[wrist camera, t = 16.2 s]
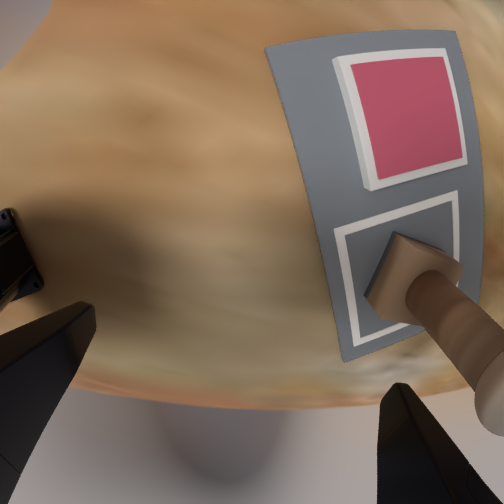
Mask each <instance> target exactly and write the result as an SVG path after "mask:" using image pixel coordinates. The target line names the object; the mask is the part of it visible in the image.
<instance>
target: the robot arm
mask: <svg viewBox="0 0 504 504" xmlns="http://www.w3.org/2000/svg"><path fill="white" fill-rule="evenodd" d="M4 214H5V215H6V218H5V216H4ZM36 282H37V283H38V284H39V285H37V283H36ZM43 286H44V282H43V280H42V278H41V276H40V274H39V272H38V270H37V268H36V266H35V264H34V262H33V260H32V258H31V256H30V254H29V252H28V250H27V248H26V246H25V244H24V242H23V239H22V237H21V235H20V233H19V231H18V228H17V226H16V224H15V221H14V219H13V216H12V214H11V212H10V210H9V209H7V208H5V209H3V210H1V211H0V312H1V311H2V310H3V309H4V308H5V307H6V306H7V304H8V303H9V302H11V301H14V300H16V299H19V298H22V297H24V296H27V295H29V294H32V293H35V292H37V291H40V290H41V289H42V288H43ZM95 332H96V317H95V309H94V306H93V305H92V304H89V303H87V302H84V301H79V302H77V303H74V304H72V305H70V306H67V307H65V308H63V309H60V310H58V311H56V312H53V313H51V314H48V315H46V316H44V317H41V318H39V319H37V320H34V321H32V322H30V323H27V324H25V325H23V326H21V327H18V328H16V329H14V330H11V331H9V332H7V333H4V334H2V335H0V504H8V502H9V500H10V498H11V495H12V493H13V491H14V489H15V487H16V484H17V482H18V480H19V478H20V476H21V473H22V471H23V469H24V467H25V465H26V463H27V461H28V459H29V457H30V455H31V453H32V451H33V449H34V447H35V445H36V443H37V441H38V440H39V438H40V436H41V434H42V432H43V430H44V428H45V427H46V425H47V423H48V421H49V419H50V417H51V415H52V414H53V412H54V410H55V408H56V407H57V405H58V403H59V401H60V400H61V398H62V396H63V394H64V393H65V391H66V389H67V388H68V386H69V384H70V382H71V381H72V379H73V377H74V376H75V374H76V372H77V370H78V368H79V366H80V364H81V362H82V359H83V357H84V355H85V353H86V351H87V349H88V347H89V344H90V342H91V340H92V338H93V336H94V334H95ZM377 504H503V503H502V502H501V501H500V500H499V499H498V497H496V495H495V494H494V493H493V492H492V491H491V490H490V488H489V487H488V486H487V485H486V484H485V482H484V481H483V480H482V479H481V477H480V476H479V475H478V474H477V472H476V471H475V470H474V468H473V467H472V466H471V464H469V462H468V460H467V459H466V458H465V456H464V455H463V454H462V452H461V451H460V450H459V449H458V447H457V446H456V444H455V443H454V442H453V441H452V439H451V438H450V437H449V436H448V434H447V433H446V432H445V430H444V429H443V428H442V426H441V425H440V424H439V422H438V421H437V420H436V419H435V418H434V416H433V415H432V414H431V412H430V411H429V410H428V409H427V407H426V406H425V405H424V403H423V402H422V401H421V400H420V398H419V397H418V396H417V395H416V393H415V392H414V391H413V390H412V388H411V387H410V386H409V385H408V384H405V383H398V382H397V383H395V384H393V385H392V387H391V388H390V389H389V391H388V392H387V393H386V394H385V396H384V397H383V398H382V400H381V403H380V415H379V430H378V443H377Z"/></svg>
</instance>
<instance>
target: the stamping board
mask: <svg viewBox="0 0 504 504" xmlns="http://www.w3.org/2000/svg"><path fill="white" fill-rule="evenodd" d="M264 51H265V54H266V57H267V60H268V63H269V66H270V69H271V72H272V75H273V78H274V81H275V84H276V87H277V90H278V94H279V97H280V100H281V103H282V107H283V110H284V113H285V117H286V120H287V123H288V127H289V130H290V134H291V137H292V140H293V144H294V148H295V151H296V155H297V158H298V162H299V166H300V169H301V173H302V177H303V181H304V185H305V188H306V192H307V196H308V200H309V204H310V208H311V212H312V216H313V220H314V225H315V229H316V233H317V237H318V242H319V246H320V250H321V255H322V259H323V264H324V269H325V273H326V278H327V283H328V288H329V292H330V297H331V302H332V308H333V313H334V318H335V323H336V329H337V334H338V340H339V345H340V351H341V357H342V360H343V362H344V363H345V362H348V361H351V360H353V359H356V358H359V357H361V356H364V355H367V354H369V353H372V352H375V351H377V350H380V349H382V348H385V347H387V346H390V345H392V344H394V343H397V342H399V341H402V340H404V339H406V338H409V337H411V336H413V335H415V334H418V333H420V332H422V331H424V330H426V329H425V328H424V327H422V326H416V325H411V324H405V323H400V322H394V321H389V320H384V319H380V318H379V316H378V315H377V313H376V312H375V311H374V309H373V308H372V306H371V305H370V304H369V302H368V301H367V300H366V298H365V297H364V293H365V291H366V289H367V287H368V285H369V283H370V281H371V279H372V276H373V274H374V272H375V270H376V268H377V266H378V264H379V261H380V259H381V257H382V255H383V253H384V250H385V248H386V246H387V243H388V241H389V239H390V237H391V234H392V232H393V231H395V232H398V233H400V234H403V235H405V236H408V237H411V238H413V239H416V240H419V241H421V242H424V243H426V244H429V245H431V246H434V247H436V248H439V249H441V250H443V251H444V252H446V253H447V254H448V255H450V256H451V257H453V258H454V259H455V260H457V261H458V262H459V263H461V264H462V265H463V266H465V268H464V270H463V272H462V274H461V276H460V278H459V280H458V282H457V284H456V286H457V287H458V288H459V289H460V290H461V291H462V292H464V293H465V294H466V295H467V296H468V297H469V298H470V299H471V300H473V301H474V302H475V303H476V304H479V297H480V288H481V278H482V265H483V248H484V189H483V172H482V160H481V150H480V142H479V134H478V127H477V120H476V114H475V108H474V103H473V98H472V93H471V88H470V83H469V79H468V75H467V71H466V67H465V63H464V59H463V55H462V52H461V48H460V45H459V42H458V38H457V35H456V32H455V31H448V30H387V31H371V32H359V33H349V34H340V35H332V36H325V37H318V38H312V39H306V40H300V41H294V42H289V43H284V44H279V45H275V46H270V47H266V48H265V49H264Z"/></svg>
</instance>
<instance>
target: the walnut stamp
mask: <svg viewBox="0 0 504 504" xmlns="http://www.w3.org/2000/svg"><path fill="white" fill-rule="evenodd" d="M464 268H465V266H463V265H462V264H461V263H459V262H458V261H457V260H455V259H454V258H453V257H451V256H450V255H448V254H447V253H446V252H444V251H443V250H441V249H439V248H436V247H434V246H431V245H429V244H426V243H424V242H421V241H419V240H416V239H413V238H411V237H408V236H405V235H403V234H400V233H398V232H395V231H393V232H392V234H391V237H390V239H389V241H388V243H387V246H386V248H385V250H384V253H383V255H382V257H381V259H380V261H379V264H378V266H377V268H376V270H375V272H374V274H373V276H372V279H371V281H370V283H369V285H368V287H367V289H366V291H365V293H364V297H365V298H366V300H367V301H368V302H369V304H370V305H371V306H372V308H373V309H374V311H375V312H376V313H377V315H378V316H379V318H380V319H384V320H389V321H394V322H400V323H405V324H411V325H416V326H422V327H424V328H425V329H426V331H427V332H428V333H429V334H430V336H431V337H432V338H433V339H434V340H435V342H436V343H437V344H438V345H439V347H440V348H441V349H442V350H443V352H444V353H445V354H446V355H447V357H448V358H449V359H450V360H451V362H452V363H453V364H454V365H455V367H456V368H457V369H458V371H459V372H460V373H461V375H462V376H463V377H464V378H465V380H466V381H467V382H468V384H469V385H470V386H471V388H472V389H473V390H474V392H475V409H476V413H477V416H478V418H479V420H480V422H481V423H482V425H483V426H484V427H485V428H486V429H487V430H488V431H490V432H491V433H493V434H496V435H499V436H504V329H503V328H502V327H501V326H500V325H498V324H497V323H496V322H495V321H494V320H493V319H492V318H491V317H490V316H489V315H488V314H487V313H486V312H485V311H484V310H482V309H481V308H480V307H479V306H478V305H477V304H476V303H475V302H474V301H473V300H471V299H470V298H469V297H468V296H467V295H466V294H465V293H464V292H462V291H461V290H460V289H459V288H458V287H457V286H456V284H457V282H458V280H459V278H460V276H461V274H462V272H463V270H464Z"/></svg>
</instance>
